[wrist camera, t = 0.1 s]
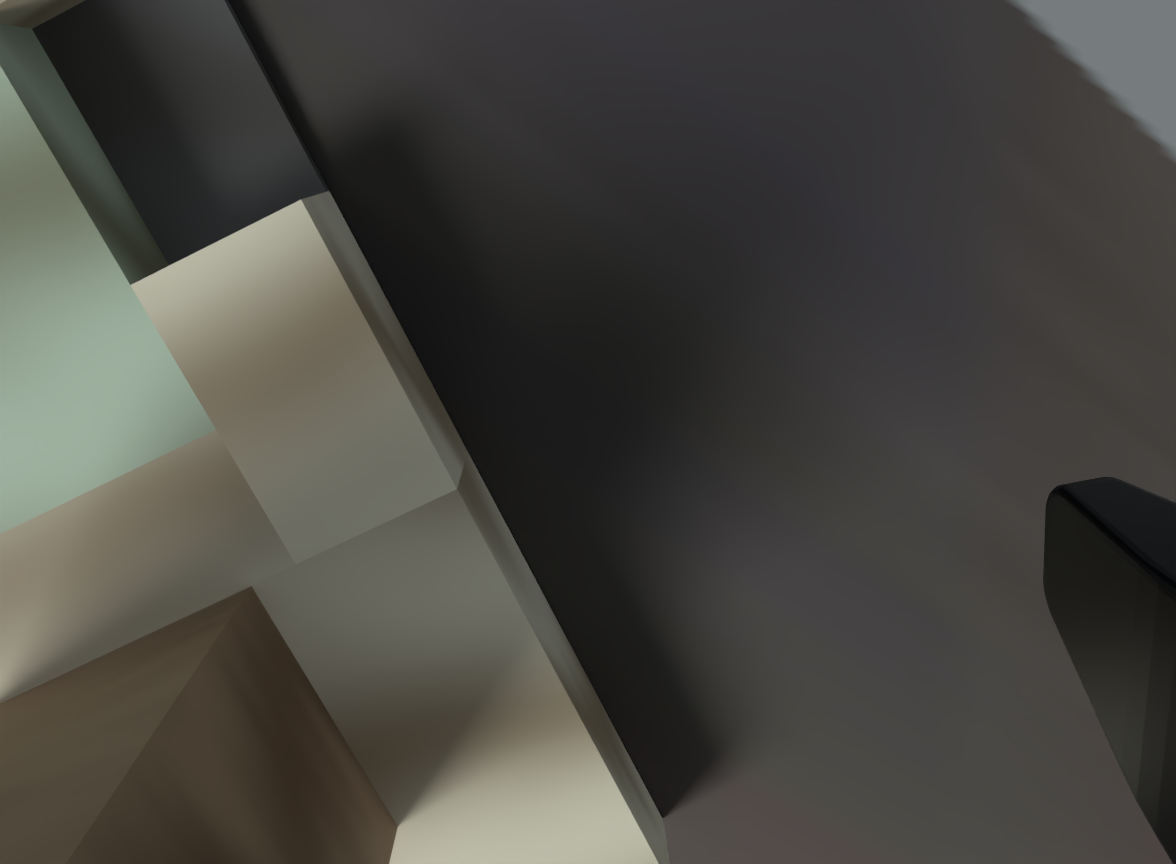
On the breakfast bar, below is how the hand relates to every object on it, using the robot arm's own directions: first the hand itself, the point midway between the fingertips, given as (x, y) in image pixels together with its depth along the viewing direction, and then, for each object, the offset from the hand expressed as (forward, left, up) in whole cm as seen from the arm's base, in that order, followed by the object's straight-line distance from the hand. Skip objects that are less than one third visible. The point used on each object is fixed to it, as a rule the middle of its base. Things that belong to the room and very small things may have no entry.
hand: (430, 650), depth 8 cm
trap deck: (-9, +5, -15) cm, 18 cm away
